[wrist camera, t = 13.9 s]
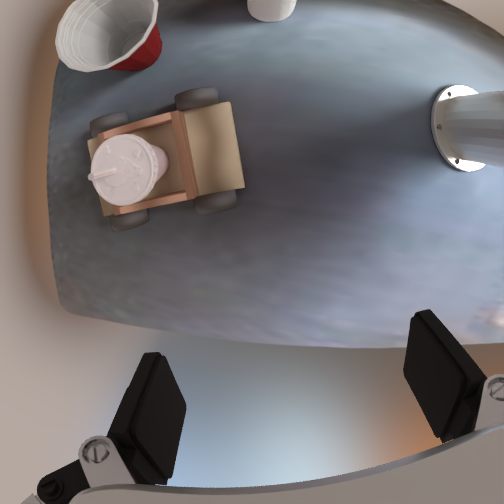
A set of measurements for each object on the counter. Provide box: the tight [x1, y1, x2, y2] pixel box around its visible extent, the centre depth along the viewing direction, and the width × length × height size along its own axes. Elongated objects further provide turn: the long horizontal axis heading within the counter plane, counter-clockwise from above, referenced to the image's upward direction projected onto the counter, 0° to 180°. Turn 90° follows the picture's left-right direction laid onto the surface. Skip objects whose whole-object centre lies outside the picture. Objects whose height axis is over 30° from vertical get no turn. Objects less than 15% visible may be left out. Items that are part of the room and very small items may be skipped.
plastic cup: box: [55, 0, 162, 72], centre depth 24 cm, size 11×11×12 cm
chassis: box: [87, 87, 245, 231], centre depth 32 cm, size 18×14×5 cm
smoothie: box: [88, 134, 170, 206], centre depth 26 cm, size 6×6×14 cm
